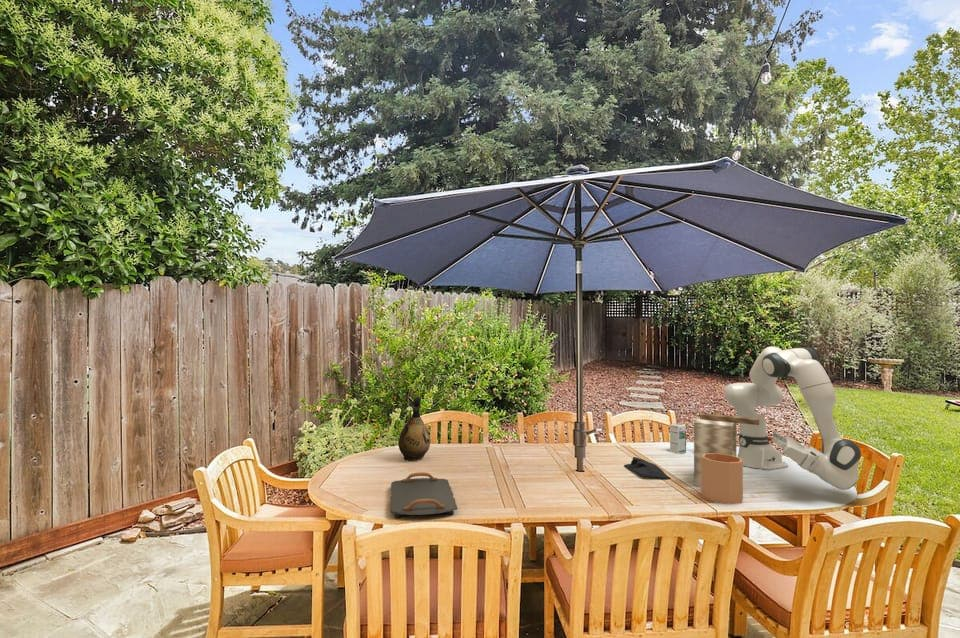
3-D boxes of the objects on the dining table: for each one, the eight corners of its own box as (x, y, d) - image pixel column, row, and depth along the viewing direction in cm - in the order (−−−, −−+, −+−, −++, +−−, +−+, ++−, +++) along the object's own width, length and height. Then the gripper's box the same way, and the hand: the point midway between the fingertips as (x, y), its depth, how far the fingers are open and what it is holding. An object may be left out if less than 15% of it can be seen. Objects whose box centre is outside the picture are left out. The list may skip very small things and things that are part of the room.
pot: (724, 489, 198) (724, 452, 199) (751, 501, 185) (751, 461, 185) (694, 492, 195) (694, 454, 195) (719, 504, 181) (719, 463, 182)
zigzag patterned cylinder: (736, 477, 215) (736, 417, 215) (731, 491, 196) (732, 426, 196) (701, 472, 222) (701, 414, 222) (693, 485, 203) (694, 422, 204)
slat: (759, 423, 203) (759, 418, 203) (758, 425, 199) (758, 420, 199) (701, 417, 214) (701, 413, 214) (699, 419, 211) (699, 414, 211)
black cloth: (637, 480, 211) (637, 469, 211) (622, 466, 233) (622, 456, 233) (673, 480, 211) (673, 469, 211) (655, 466, 233) (655, 456, 233)
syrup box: (678, 454, 254) (678, 426, 254) (669, 451, 259) (669, 423, 260) (686, 452, 257) (686, 425, 257) (677, 450, 262) (677, 423, 262)
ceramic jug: (428, 463, 233) (428, 399, 233) (395, 462, 233) (396, 399, 233) (432, 454, 250) (432, 394, 250) (401, 453, 250) (402, 394, 250)
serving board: (390, 486, 200) (391, 471, 200) (447, 483, 204) (447, 468, 204) (390, 524, 162) (390, 505, 162) (459, 519, 166) (459, 501, 166)
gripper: (812, 446, 200) (777, 425, 207) (814, 457, 183) (777, 434, 189) (802, 458, 202) (768, 437, 208) (804, 470, 184) (767, 447, 191)
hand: (772, 436), depth 199 cm, fingers open, 8 cm apart
